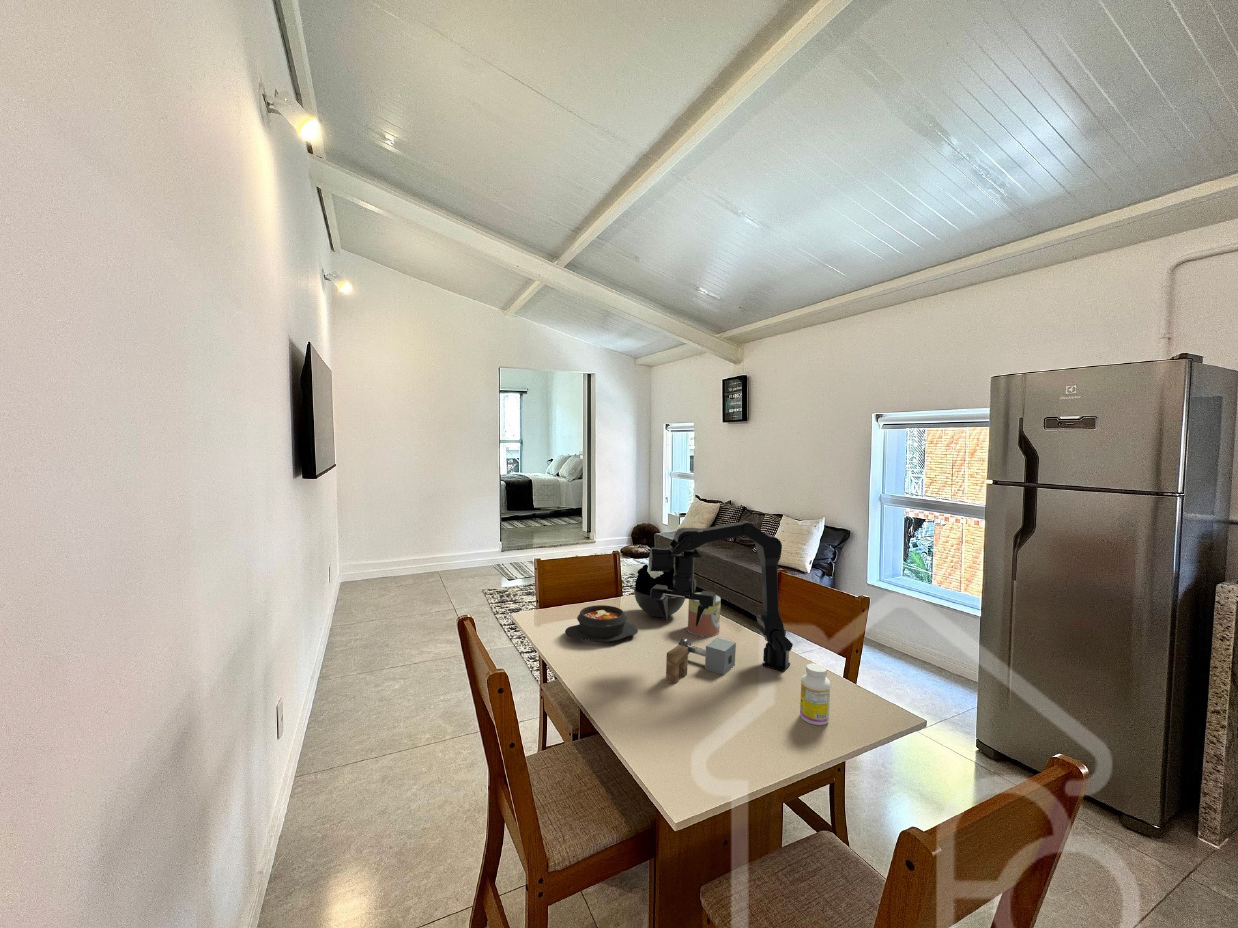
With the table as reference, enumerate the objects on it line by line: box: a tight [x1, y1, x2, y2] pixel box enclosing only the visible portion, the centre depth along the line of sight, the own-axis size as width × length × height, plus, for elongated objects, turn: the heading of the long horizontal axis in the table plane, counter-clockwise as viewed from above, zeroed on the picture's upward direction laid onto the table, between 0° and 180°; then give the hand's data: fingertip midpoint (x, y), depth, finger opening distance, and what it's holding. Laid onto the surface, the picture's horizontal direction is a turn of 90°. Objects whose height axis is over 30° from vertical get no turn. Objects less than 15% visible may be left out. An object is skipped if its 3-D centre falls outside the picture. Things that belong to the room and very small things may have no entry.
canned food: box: [687, 592, 722, 638], centre depth 180 cm, size 11×11×12 cm
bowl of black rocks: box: [633, 563, 686, 618], centre depth 194 cm, size 20×20×19 cm
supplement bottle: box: [799, 663, 831, 726], centre depth 124 cm, size 7×7×13 cm
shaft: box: [678, 637, 706, 657], centre depth 155 cm, size 13×5×5 cm, turn 55°
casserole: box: [564, 604, 639, 643], centre depth 172 cm, size 25×19×8 cm
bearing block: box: [704, 637, 737, 676], centre depth 151 cm, size 6×8×7 cm
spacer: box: [665, 644, 689, 685], centre depth 143 cm, size 3×7×8 cm, turn 145°
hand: (681, 623), depth 150 cm, fingers open, 9 cm apart
